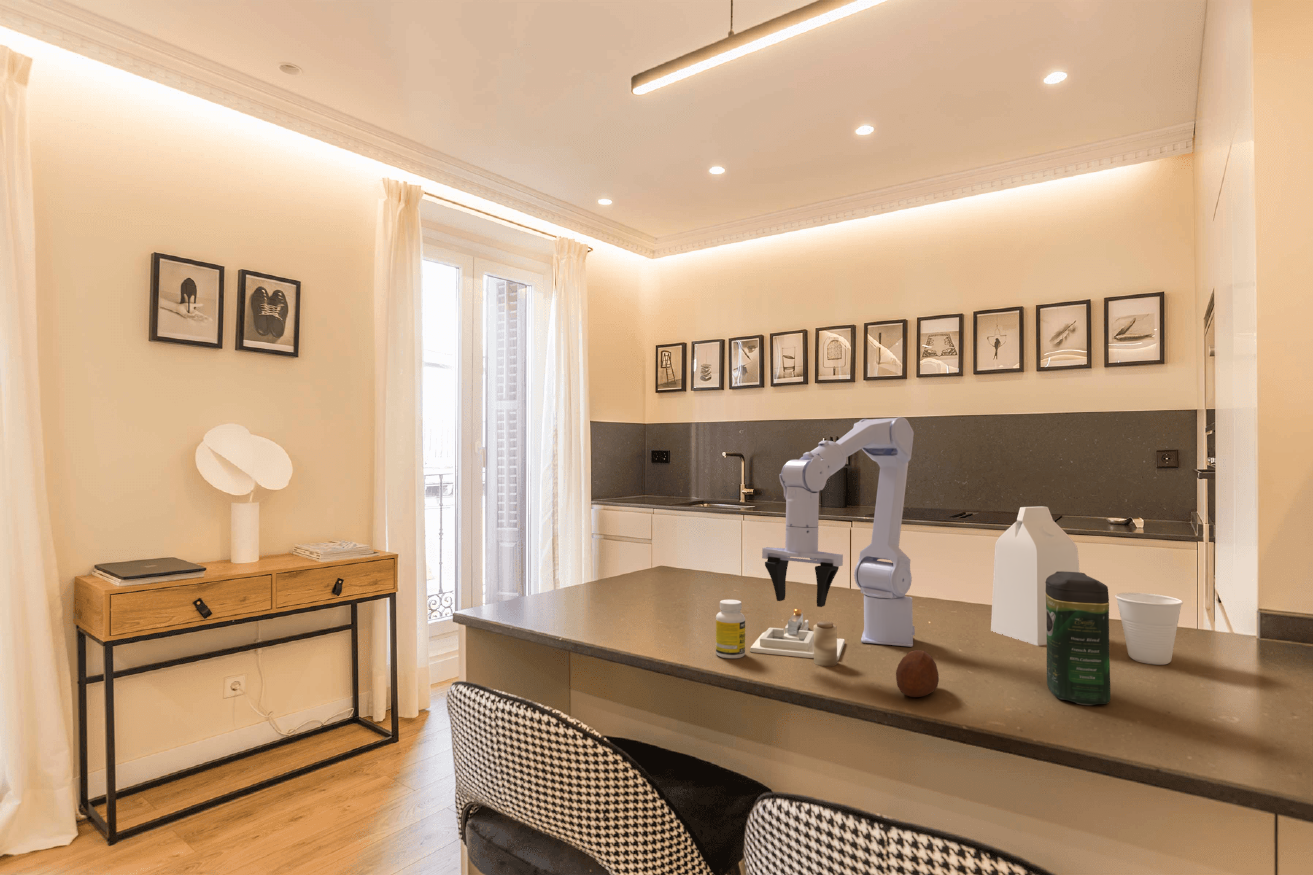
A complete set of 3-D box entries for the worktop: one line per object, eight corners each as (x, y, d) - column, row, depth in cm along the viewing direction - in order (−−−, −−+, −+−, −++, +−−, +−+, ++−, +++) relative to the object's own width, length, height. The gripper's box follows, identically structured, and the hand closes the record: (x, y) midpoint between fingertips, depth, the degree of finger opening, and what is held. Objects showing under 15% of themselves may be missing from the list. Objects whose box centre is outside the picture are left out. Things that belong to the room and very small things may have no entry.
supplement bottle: (744, 660, 123) (743, 605, 123) (714, 658, 124) (713, 604, 124) (746, 651, 128) (746, 599, 128) (717, 650, 129) (717, 597, 129)
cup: (1123, 648, 128) (1121, 590, 129) (1189, 659, 121) (1187, 597, 122) (1110, 660, 122) (1108, 598, 122) (1179, 672, 114) (1177, 606, 115)
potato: (887, 701, 102) (887, 657, 102) (904, 679, 112) (903, 640, 112) (930, 709, 99) (930, 664, 99) (943, 686, 108) (943, 645, 109)
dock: (848, 630, 142) (848, 620, 143) (838, 660, 122) (838, 648, 122) (772, 624, 148) (772, 614, 148) (750, 651, 127) (750, 640, 128)
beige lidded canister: (838, 660, 122) (837, 621, 122) (836, 667, 118) (835, 626, 118) (815, 658, 123) (815, 619, 123) (812, 664, 120) (812, 624, 120)
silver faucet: (803, 625, 143) (802, 608, 143) (797, 635, 136) (796, 616, 136) (794, 624, 144) (794, 607, 144) (788, 634, 136) (787, 616, 137)
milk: (1035, 626, 146) (1033, 504, 146) (1084, 640, 135) (1081, 508, 135) (990, 631, 142) (988, 505, 143) (1037, 645, 131) (1035, 510, 132)
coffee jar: (1118, 710, 98) (1115, 580, 98) (1055, 703, 100) (1053, 577, 101) (1099, 688, 107) (1096, 569, 107) (1042, 683, 110) (1040, 567, 110)
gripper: (755, 524, 123) (753, 600, 122) (832, 530, 115) (831, 612, 114) (772, 522, 129) (770, 595, 128) (847, 528, 120) (846, 606, 120)
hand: (800, 603), depth 121 cm, fingers open, 7 cm apart
